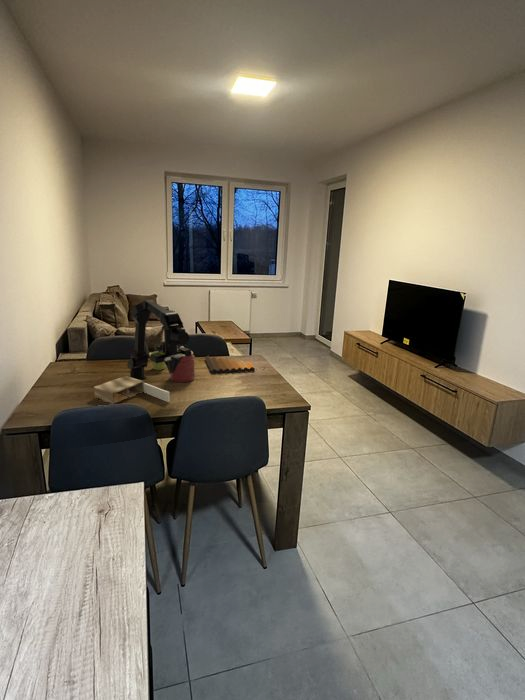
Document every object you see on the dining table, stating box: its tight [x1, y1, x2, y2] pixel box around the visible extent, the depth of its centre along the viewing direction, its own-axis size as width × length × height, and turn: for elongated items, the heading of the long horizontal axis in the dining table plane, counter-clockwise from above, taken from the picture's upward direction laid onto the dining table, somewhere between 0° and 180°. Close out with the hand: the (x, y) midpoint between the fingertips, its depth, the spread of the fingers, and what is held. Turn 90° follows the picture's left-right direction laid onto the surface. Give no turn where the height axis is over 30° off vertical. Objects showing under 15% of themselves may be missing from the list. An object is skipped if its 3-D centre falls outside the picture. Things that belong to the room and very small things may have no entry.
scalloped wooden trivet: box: [204, 355, 256, 375], centre depth 234 cm, size 25×3×25 cm
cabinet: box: [93, 375, 144, 403], centre depth 186 cm, size 18×12×6 cm, turn 149°
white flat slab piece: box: [143, 381, 171, 403], centre depth 185 cm, size 18×1×5 cm, turn 54°
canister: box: [169, 345, 196, 383], centre depth 208 cm, size 13×13×18 cm
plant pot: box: [149, 351, 166, 371], centre depth 223 cm, size 9×9×9 cm
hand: (171, 372), depth 183 cm, fingers closed
